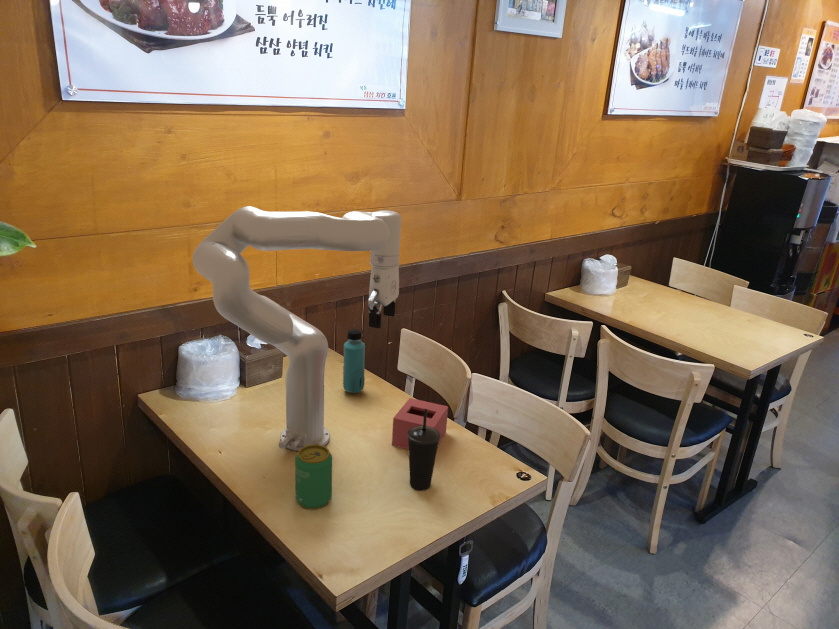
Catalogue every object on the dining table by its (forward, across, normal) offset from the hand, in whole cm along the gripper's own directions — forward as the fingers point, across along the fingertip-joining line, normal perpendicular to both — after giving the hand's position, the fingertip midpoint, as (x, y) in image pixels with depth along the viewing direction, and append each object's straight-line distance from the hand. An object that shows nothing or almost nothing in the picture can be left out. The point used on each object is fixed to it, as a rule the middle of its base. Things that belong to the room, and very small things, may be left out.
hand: (382, 321), depth 166 cm
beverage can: (+28, -41, -2) cm, 50 cm away
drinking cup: (+28, -26, -22) cm, 44 cm away
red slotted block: (+28, -7, -15) cm, 33 cm away
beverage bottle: (+28, +9, +12) cm, 32 cm away
